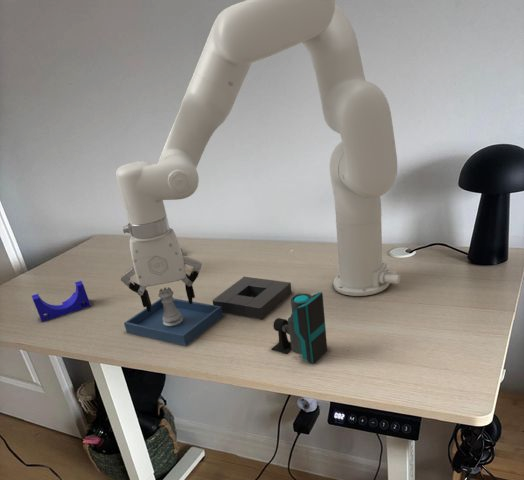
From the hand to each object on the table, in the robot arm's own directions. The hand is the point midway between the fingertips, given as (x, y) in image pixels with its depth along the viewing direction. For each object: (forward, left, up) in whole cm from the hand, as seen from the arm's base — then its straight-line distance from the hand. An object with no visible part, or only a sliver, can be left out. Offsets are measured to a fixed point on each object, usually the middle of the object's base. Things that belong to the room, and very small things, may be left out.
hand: (170, 304), depth 113 cm
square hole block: (-11, -14, -5) cm, 19 cm away
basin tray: (0, 0, -5) cm, 5 cm away
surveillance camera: (-31, +1, -5) cm, 32 cm away
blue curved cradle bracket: (+34, +4, -5) cm, 34 cm away
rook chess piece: (0, 0, -5) cm, 5 cm away
